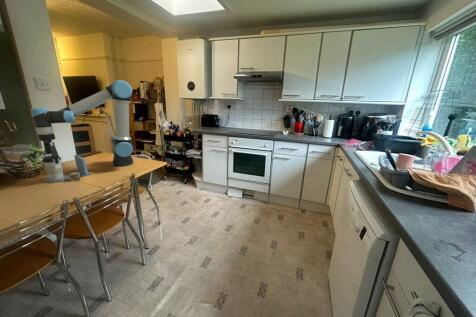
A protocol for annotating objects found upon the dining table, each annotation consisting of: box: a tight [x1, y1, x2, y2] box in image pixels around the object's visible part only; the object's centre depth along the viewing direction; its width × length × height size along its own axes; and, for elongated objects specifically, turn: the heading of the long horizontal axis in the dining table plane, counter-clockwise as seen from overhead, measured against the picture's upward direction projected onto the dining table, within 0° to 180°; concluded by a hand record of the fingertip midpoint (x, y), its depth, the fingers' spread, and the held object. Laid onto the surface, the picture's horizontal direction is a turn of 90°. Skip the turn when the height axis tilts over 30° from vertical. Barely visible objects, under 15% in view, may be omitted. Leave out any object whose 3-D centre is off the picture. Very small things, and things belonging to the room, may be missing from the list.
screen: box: [73, 154, 92, 178], centre depth 141 cm, size 16×5×12 cm, turn 54°
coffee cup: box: [42, 155, 64, 180], centre depth 129 cm, size 9×9×15 cm
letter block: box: [69, 171, 82, 182], centre depth 132 cm, size 4×4×5 cm
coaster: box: [45, 174, 70, 184], centre depth 132 cm, size 12×12×1 cm
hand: (55, 165), depth 130 cm, fingers open, 13 cm apart
